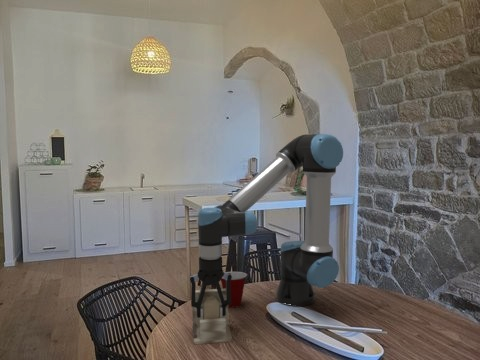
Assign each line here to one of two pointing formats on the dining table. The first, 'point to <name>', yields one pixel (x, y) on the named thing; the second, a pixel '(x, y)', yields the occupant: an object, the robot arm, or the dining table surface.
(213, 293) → the beige u-shaped bracket
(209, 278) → the robot arm
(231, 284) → the plastic cup
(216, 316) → the candle
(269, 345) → the dining table surface
